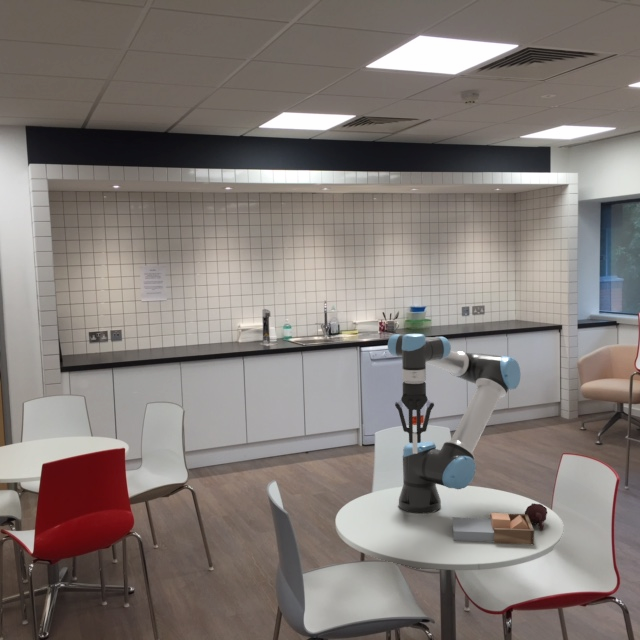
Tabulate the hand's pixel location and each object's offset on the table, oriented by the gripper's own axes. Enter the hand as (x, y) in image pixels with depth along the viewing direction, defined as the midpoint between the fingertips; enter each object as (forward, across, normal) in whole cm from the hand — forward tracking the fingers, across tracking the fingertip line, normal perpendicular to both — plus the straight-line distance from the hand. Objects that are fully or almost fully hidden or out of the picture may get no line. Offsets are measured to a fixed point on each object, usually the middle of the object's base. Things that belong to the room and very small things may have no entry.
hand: (415, 452), depth 231 cm
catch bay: (+26, +30, -4) cm, 40 cm away
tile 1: (+23, +27, -4) cm, 36 cm away
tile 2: (+22, +31, -4) cm, 38 cm away
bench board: (+26, +18, -3) cm, 32 cm away
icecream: (+27, +40, +7) cm, 49 cm away
